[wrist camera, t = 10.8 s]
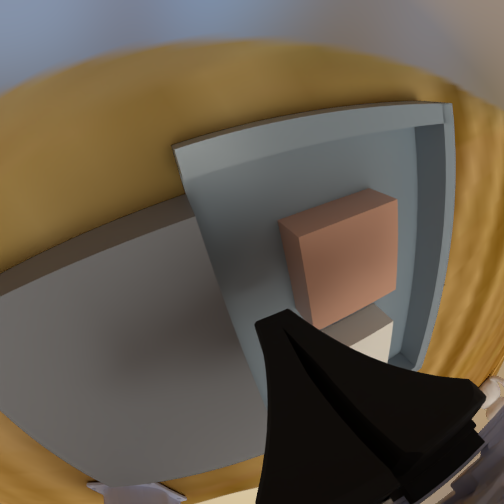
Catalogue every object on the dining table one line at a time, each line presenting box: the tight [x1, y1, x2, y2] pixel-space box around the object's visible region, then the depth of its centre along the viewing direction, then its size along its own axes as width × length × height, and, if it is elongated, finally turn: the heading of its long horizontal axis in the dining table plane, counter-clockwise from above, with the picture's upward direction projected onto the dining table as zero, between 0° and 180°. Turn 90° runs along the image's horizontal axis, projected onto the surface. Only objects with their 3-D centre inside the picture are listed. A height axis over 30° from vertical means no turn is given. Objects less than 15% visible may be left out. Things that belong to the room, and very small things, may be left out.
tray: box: [171, 101, 455, 410], centre depth 15 cm, size 20×13×2 cm, turn 13°
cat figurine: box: [479, 376, 504, 420], centre depth 48 cm, size 9×12×15 cm
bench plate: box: [0, 194, 267, 488], centre depth 12 cm, size 17×14×3 cm
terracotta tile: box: [277, 188, 398, 330], centre depth 13 cm, size 5×5×2 cm
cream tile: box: [321, 303, 393, 363], centre depth 16 cm, size 5×5×2 cm
